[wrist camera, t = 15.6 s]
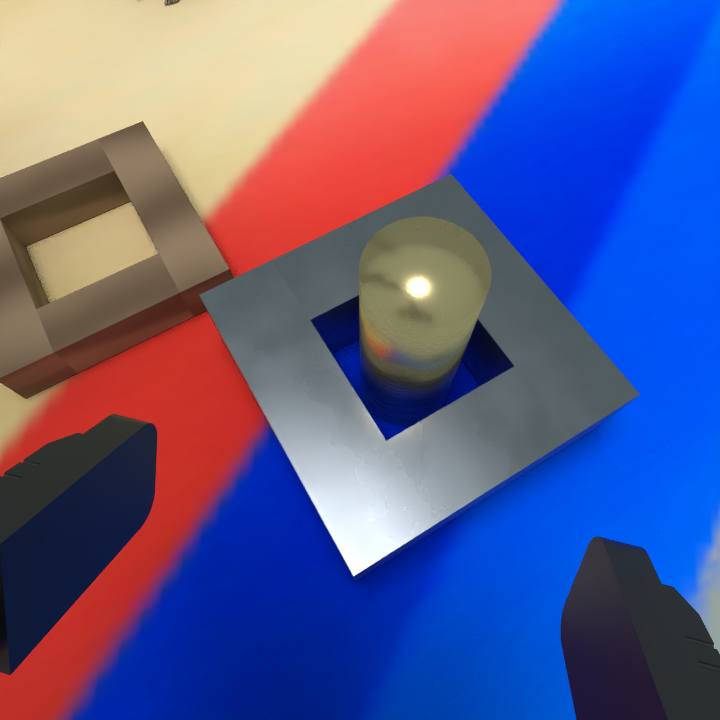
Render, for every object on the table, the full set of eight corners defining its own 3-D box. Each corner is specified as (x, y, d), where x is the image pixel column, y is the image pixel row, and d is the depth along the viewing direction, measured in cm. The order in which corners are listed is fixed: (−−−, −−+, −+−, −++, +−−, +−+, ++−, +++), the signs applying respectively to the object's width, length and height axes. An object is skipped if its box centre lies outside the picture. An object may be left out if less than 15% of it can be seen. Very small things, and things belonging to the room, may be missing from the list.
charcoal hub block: (221, 338, 30) (199, 294, 25) (439, 229, 32) (451, 174, 28) (355, 581, 25) (353, 576, 20) (598, 426, 27) (639, 394, 23)
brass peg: (344, 369, 29) (334, 250, 19) (416, 330, 30) (442, 198, 20) (389, 442, 27) (404, 351, 18) (465, 398, 28) (518, 289, 19)
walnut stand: (-35, 232, 32) (-65, 204, 30) (157, 153, 35) (142, 121, 33) (25, 398, 28) (-4, 379, 26) (239, 294, 31) (229, 268, 28)
